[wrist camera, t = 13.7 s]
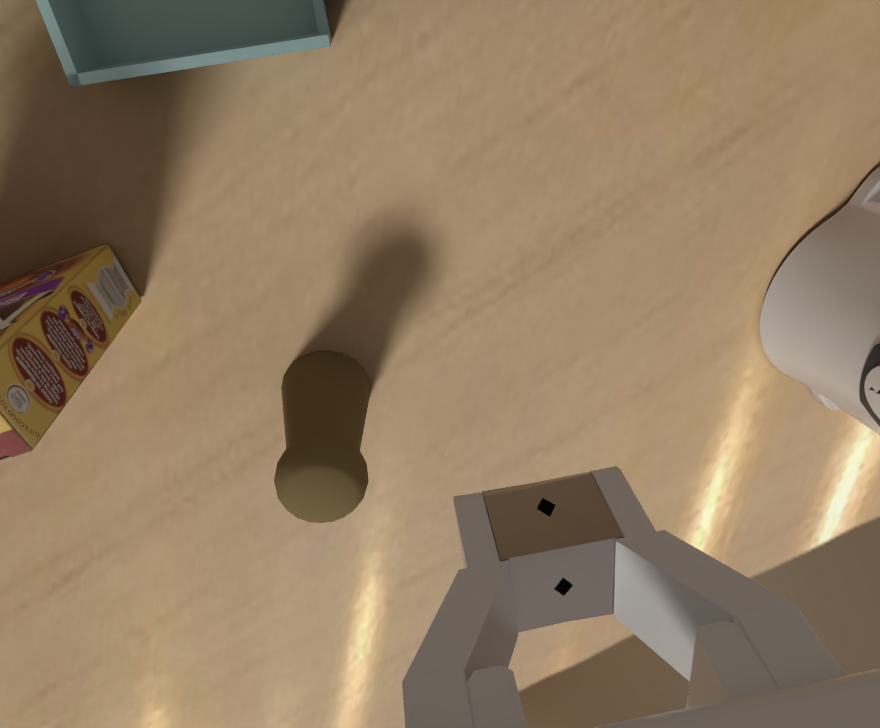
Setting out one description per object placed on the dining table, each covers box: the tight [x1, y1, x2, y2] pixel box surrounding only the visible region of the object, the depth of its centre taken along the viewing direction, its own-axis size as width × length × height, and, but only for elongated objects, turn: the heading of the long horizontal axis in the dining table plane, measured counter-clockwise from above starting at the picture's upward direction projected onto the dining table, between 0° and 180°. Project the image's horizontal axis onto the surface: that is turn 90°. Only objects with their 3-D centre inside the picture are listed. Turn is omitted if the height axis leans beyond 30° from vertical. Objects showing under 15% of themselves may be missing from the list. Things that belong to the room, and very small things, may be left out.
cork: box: [274, 351, 370, 523], centre depth 39 cm, size 6×6×11 cm
